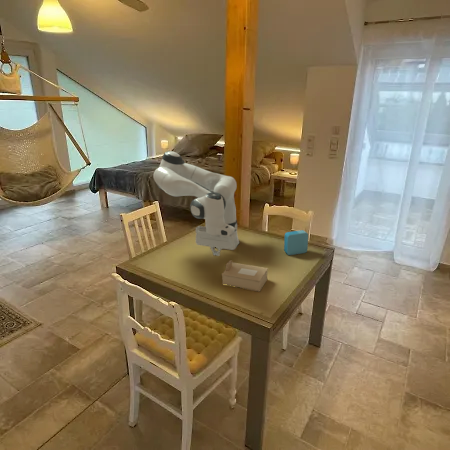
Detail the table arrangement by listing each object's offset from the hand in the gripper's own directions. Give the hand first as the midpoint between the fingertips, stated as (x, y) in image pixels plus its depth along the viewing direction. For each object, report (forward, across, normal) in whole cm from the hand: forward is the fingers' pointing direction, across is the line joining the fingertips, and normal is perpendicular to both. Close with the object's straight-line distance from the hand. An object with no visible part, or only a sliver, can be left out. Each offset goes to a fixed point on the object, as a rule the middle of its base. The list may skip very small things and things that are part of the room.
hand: (216, 255), depth 166 cm
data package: (+12, +29, +40) cm, 51 cm away
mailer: (+12, +14, 0) cm, 18 cm away
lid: (+6, +14, 0) cm, 16 cm away
